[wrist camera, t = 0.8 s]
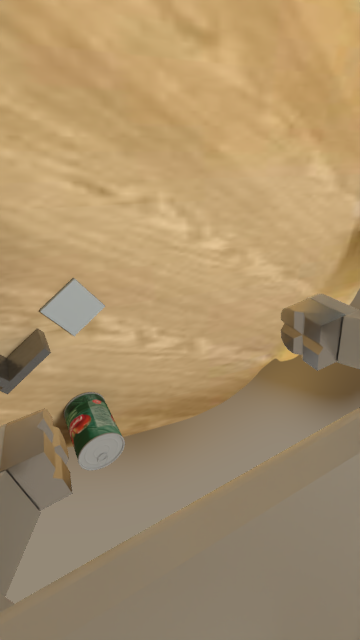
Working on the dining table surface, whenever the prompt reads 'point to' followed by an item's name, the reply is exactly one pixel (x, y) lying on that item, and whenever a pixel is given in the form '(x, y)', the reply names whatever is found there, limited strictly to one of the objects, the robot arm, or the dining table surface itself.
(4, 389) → the bent rail
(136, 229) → the dining table surface
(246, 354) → the dining table surface
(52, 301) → the mat
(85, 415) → the canned tomato
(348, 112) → the dining table surface
